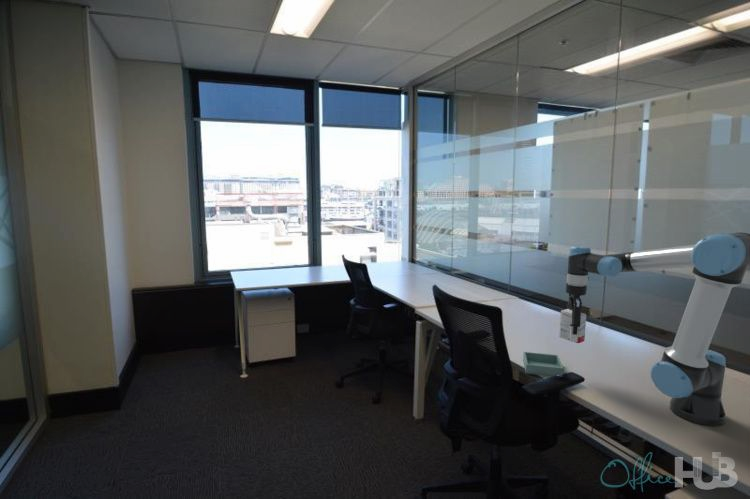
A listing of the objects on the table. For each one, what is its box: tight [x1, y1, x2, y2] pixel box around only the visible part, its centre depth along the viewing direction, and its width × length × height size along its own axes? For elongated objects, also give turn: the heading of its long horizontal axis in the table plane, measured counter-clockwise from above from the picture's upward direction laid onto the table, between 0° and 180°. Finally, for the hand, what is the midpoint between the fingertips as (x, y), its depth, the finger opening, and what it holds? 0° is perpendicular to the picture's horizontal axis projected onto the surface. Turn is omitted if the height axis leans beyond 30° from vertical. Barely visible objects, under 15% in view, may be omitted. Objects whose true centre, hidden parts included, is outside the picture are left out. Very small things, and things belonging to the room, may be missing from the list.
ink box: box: [558, 308, 587, 344], centre depth 169 cm, size 9×5×12 cm, turn 32°
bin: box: [522, 351, 564, 377], centre depth 178 cm, size 14×14×4 cm
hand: (571, 337), depth 170 cm, fingers closed on ink box, 9 cm apart
